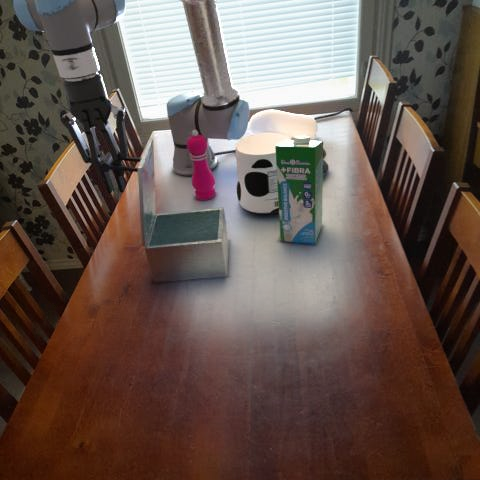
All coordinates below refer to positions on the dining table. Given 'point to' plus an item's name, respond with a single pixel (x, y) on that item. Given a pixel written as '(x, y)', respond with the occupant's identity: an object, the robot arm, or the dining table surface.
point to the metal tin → (188, 245)
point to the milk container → (258, 172)
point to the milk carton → (300, 189)
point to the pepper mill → (200, 167)
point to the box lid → (140, 185)
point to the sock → (283, 124)
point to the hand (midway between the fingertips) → (116, 190)
